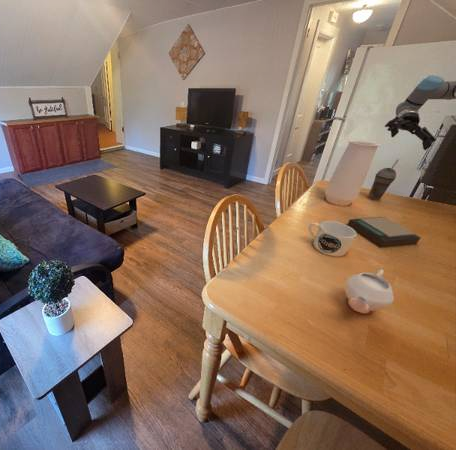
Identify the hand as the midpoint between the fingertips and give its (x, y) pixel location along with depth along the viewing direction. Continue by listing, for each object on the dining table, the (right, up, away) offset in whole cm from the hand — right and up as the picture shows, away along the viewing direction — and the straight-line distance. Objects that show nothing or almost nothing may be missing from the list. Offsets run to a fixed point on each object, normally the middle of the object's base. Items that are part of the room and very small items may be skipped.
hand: (411, 141), depth 107 cm
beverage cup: (-4, -24, +14) cm, 28 cm away
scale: (-25, -40, -13) cm, 49 cm away
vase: (-24, -25, +12) cm, 37 cm away
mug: (-52, -45, -19) cm, 71 cm away
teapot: (-58, -59, -42) cm, 92 cm away
